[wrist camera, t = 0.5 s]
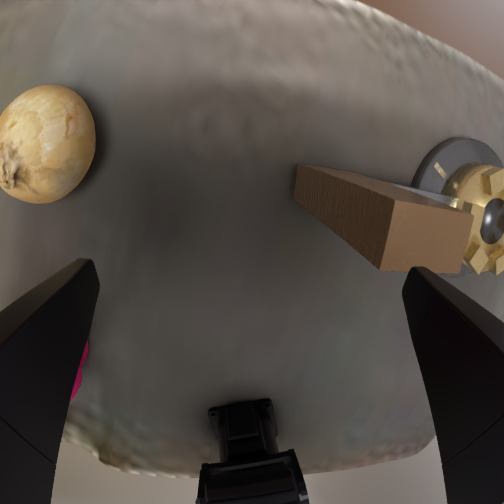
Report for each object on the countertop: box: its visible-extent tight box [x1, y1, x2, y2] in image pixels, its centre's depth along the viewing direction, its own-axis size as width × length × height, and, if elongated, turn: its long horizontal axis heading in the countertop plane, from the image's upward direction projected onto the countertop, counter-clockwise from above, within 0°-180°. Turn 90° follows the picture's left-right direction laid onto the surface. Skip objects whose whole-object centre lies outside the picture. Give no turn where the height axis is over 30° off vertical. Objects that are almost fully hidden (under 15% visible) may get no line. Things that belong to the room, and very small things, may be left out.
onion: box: [0, 85, 96, 204], centre depth 16 cm, size 8×8×7 cm
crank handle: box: [293, 162, 504, 275], centre depth 17 cm, size 22×9×12 cm, turn 83°
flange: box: [411, 138, 504, 277], centre depth 25 cm, size 13×13×2 cm
